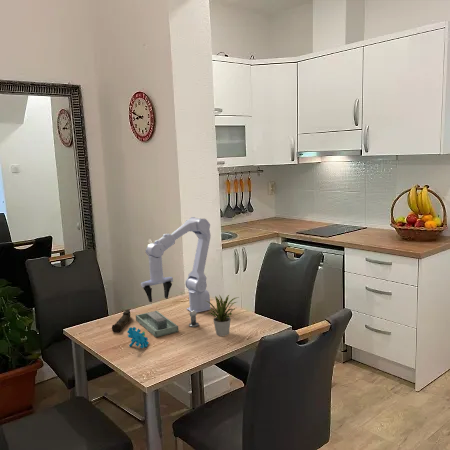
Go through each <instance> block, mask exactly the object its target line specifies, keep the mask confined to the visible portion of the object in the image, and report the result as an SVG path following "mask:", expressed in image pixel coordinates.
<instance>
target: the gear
mask: <svg viewBox="0 0 450 450" xmlns="http://www.w3.org/2000/svg"><path fill="white" fill-rule="evenodd" d="M126 332H127V337H128V338H129V339H130V341H131V343H129V345H128V346H129V347H130V348H132V346H133V345H135V346H136V347H139V348H141V349H145V348H147V347H148V345H149V344H150V343H149V341H148V340H149V339H148V337H146V332H145V331H142V332H141V329H140V328H138V329H137V328H136V327H135V326H133V327H129V328H128V330H127V331H126Z"/></svg>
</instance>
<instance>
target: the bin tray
mask: <svg viewBox="0 0 450 450" xmlns="http://www.w3.org/2000/svg"><path fill="white" fill-rule="evenodd" d="M154 311H155V312H157V313H158V314H159V315H161V316H162V317H163V318H165V319H166V320H167V328H166V329H162V330H157V329H155V328H154V327H153V326H152V325H150V324H149V323H148V322H147V314H146V313H149V312H145V313H139V314H135V321H136V322H137V323H138V324H139V325H140V326H142V328H144V329H145V330H146V331H147V332H148V333H150V334H151V335H153V337H154V338H160V337H164V336H167V335H172V334H175V333H178V332H179V325H178V324H176V323H175V322H174V321H172V320H170V319H169V318H167V317H166V316H165V315H164V314H162V313H161V312H160V311H158V310H154ZM154 311H152V312H154Z"/></svg>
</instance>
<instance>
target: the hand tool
mask: <svg viewBox="0 0 450 450" xmlns="http://www.w3.org/2000/svg"><path fill="white" fill-rule="evenodd" d="M130 321H131V309H126V310H124V311H123V313H122V315H121V317H120V318H119V319H118V320H117V321H116V322H115V323H114V324H112V326H111V331H112V333H114V334H115V333H116V334H117V333H120V332H121V331H122V329H123V328H124V327H125V325H126V324H127V323H128V322H130Z"/></svg>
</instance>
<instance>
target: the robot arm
mask: <svg viewBox="0 0 450 450" xmlns="http://www.w3.org/2000/svg"><path fill="white" fill-rule="evenodd" d="M210 228H211V224H210V222H209V220H207V218H201V217H200V218H199V217H195V216H191V217H190V218H189V219H186V220H185V222H184V223H182V225H180V226H179V227H178V228H177V229H175V230H174V231H172V232H171V233H163V235H162V237H160V238H158V239H156V240H154V242H153V243H152V242H151V243H149V244H147V247H146V249H145V253H146V255H147V256H148V264H149V265H148V266H149V267H148V268H149V278H150V279H148V280H146V281H142V282H140V286H141V288H142V289H143V291H144V293H145V294H146V297H147V299H148V302H149V303H153V296H152V292H153V291H152V289H153V288H151V286H156V285H161V284H162V286H163V291H164V292H163V293H164V296H163V297H164V298H165V299H166V300H167V299H169V293H170V290H171V288H172V285H173V282H174V277H173V276H167V277H166V276H165V277H164V271H163V270H164V269H163V268H164V267H163V260H162V259H163V258H162V257H163V256H164V253H165V252H166V251H167V250H168V249H170V248H171V247H172V246H173V245H175V243H176V241H177V240H178V239H180V238H181V237H183V236H185V234H187V233H188V232H192V233H193V234H195V235H196V237H197V238H198V239H197V245H196V249H195V254H194V260H193V267H192V270H191V271H190V272H189V273H188V277H187V278H186V280H185V283H184V284H185V287H186V289H187V291H188V298H189V303H188V304H189V307H187V308H186V310H188V311H189V312H191V311H193V310H194V311H196V313H197V314H198V313H201V312H207V311H209V310H210V309H212V308H211V304H210V303H211V296H210V292H209V290H207V287H208V286H207V276H206V274H205V267H206V262H207V258H208V253H209V246H210V241H211V230H210ZM207 301H208V302H210V303H208V302H207ZM209 308H210V309H209ZM210 311H211V310H210Z"/></svg>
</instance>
